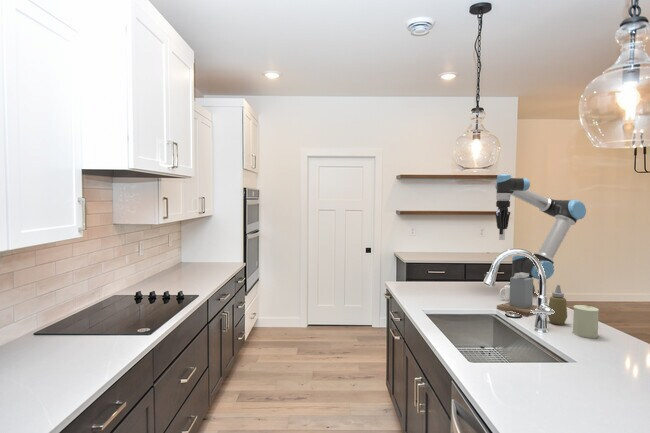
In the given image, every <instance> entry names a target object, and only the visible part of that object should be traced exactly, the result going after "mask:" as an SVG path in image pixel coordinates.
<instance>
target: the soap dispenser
mask: <svg viewBox="0 0 650 433" xmlns="http://www.w3.org/2000/svg"><path fill="white" fill-rule="evenodd" d="M509 284H510V301H509V306H513V307H517V308H521V309H527V308H531V307H532V305H534V304H533V302H534V300H533V298H534V297H533V295H534V293H533V284H534V278H533V277H532V278H527V277H524V278H523V279H522V278H516V279H515V278H514V277H512V276H511V277H510V279H509Z"/></svg>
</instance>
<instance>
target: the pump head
mask: <svg viewBox="0 0 650 433" xmlns="http://www.w3.org/2000/svg"><path fill="white" fill-rule="evenodd" d="M524 277H529V273H523V272H521V273H515V276H514V278H515V279H516V278H522V279H523V278H524Z"/></svg>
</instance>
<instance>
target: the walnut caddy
mask: <svg viewBox="0 0 650 433" xmlns="http://www.w3.org/2000/svg"><path fill="white" fill-rule="evenodd" d="M537 306H538V305H536V304H533V305H532V307H531V308H527V309H521V308H517V307H513V306H509V302H505V303H501V304H497V305H496V309H497V310H499V311H502V312H506V311H513V312H516V313H519V314H521V315H520V316H522V315H523V316H522V317H531V316H534V315H535V314H533V313H530V310H535V309H536V308H537Z"/></svg>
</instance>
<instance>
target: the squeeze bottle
mask: <svg viewBox="0 0 650 433" xmlns="http://www.w3.org/2000/svg"><path fill="white" fill-rule="evenodd" d="M548 307H550V308H551V309H553V310H554V311H555V313H554V314H551V315H547V317H548V320H549V323H551V324H553V325H558V326H559V325H560V326H561V325H565V323H566V320H567V319H568V308H567V298H565V293H564V292H562V290H561V285H560V284H556V286H555V291H552V294H551V296H550V297H549V302H548Z"/></svg>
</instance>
